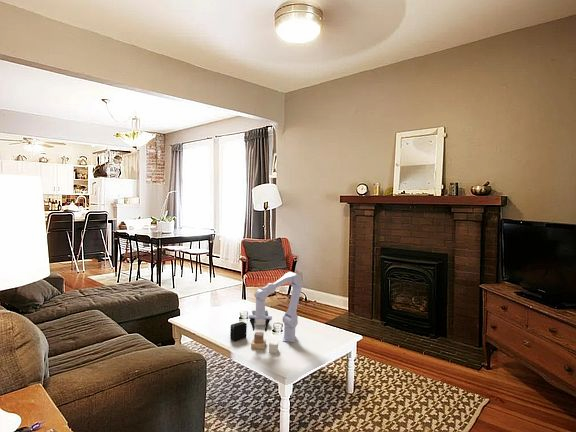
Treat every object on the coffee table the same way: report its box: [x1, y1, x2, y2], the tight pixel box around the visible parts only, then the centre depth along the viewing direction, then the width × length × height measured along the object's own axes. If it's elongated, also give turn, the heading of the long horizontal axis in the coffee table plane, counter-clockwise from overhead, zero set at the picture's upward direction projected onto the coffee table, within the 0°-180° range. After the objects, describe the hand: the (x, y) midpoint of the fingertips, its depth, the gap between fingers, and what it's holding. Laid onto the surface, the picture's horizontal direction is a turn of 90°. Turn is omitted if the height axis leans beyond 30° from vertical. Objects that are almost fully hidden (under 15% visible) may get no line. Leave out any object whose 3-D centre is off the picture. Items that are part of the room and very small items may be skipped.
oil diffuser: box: [251, 310, 269, 326], centre depth 266 cm, size 26×24×17 cm
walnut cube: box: [253, 331, 264, 343], centre depth 226 cm, size 5×5×5 cm
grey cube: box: [268, 340, 279, 354], centre depth 220 cm, size 5×5×5 cm
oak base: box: [250, 338, 267, 350], centre depth 226 cm, size 8×8×3 cm
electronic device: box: [229, 321, 248, 342], centre depth 236 cm, size 4×10×10 cm, turn 135°
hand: (259, 330), depth 226 cm, fingers open, 7 cm apart
